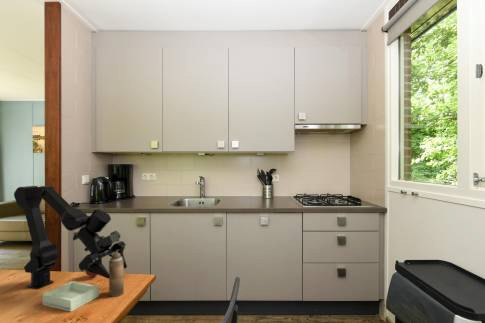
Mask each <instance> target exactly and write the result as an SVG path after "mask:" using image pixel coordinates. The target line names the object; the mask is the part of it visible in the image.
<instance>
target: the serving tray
mask: <svg viewBox="0 0 485 323" xmlns="http://www.w3.org/2000/svg"><path fill="white" fill-rule="evenodd" d="M98 297H100V286H99V285H94V284H90V283H84V282H80V281H79V282H78V281H74V280H73V281H69V282H67V283H65V284H62V285H60V286H58V287H56V288H54V289H51V290H48V291H47V292H44V293H42V306H47V307H51V308H53V309H54V308H55V309H58V310H62V311H67V312H73V311H74V310H76V309H78V308H80V307H82V306H83V305H85V304H87V303H89V302H91V301H92V300H95V299H97V298H98Z"/></svg>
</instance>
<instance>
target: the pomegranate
mask: <svg viewBox="0 0 485 323" xmlns="http://www.w3.org/2000/svg"><path fill="white" fill-rule="evenodd" d="M84 272H85V274H86V276H88V277H90V278H96V277H97V276H99V275H98V274H95V273H91V272H86V270H85V271H84Z"/></svg>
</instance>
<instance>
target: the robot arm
mask: <svg viewBox="0 0 485 323" xmlns="http://www.w3.org/2000/svg"><path fill="white" fill-rule="evenodd" d="M13 197H14V199H15V202H16V205H18V207H20V208H21V209H22V210H23V213H24V216H25V220H26V223H27V227H28V232H29V235H30V239H31V243H32V247H31V250H30V253H29V257H30V258H29V259H30V260H29V261H28V262H27V263H26V264H25V265H24V268H23V269H24V271H25V273H28V274H30V283H29V284H27V285H26V288H31V289H36V290H38V289H41V288H44V287H45V286H48V285H51V284H53V283H55V281H54V280H51V267H54V266H55V265H56V262H57V259H58V258H59V255H58V254H59V251H58V247H57V244H56V243H52V242H51V241H50V240H49V239H48V234H47V230H46V226H45V222H44V219H43V215H42V212H41V207H40V206H41V204H42V201H44V202H45V203H46V204H47V205H48V206H49V207H51V209H53V211H54V212H56V213H57V215H58V216H59V217H60V222H61V224H62V225H63V227H64V228H65V229H66V230H67V231H76V230H78V231H76V232H73V237H72V240H73V241H76V240H79V241H80V242H81V243H82V244H83V245H84V247H85V248H84V249H83V250H84V251H85V252H89V254H87V255H85V256H84V257H83V259H82V260H81V261H80V262H79V263H78V269H79V270H80V271H81V273H82V272H85V273H86V272H91V273H95V274H98V275H97V276H100V277H103V278H105V279H109V278H110V274H109V270H107V269H106V267H105V266H104V264H103V260H102V259H103V258H105V257H107V256H109V257H110V258H112V255H113V254H114V253H116V252H118V253H120V255H121V257H122V259H123V263H124V269H127V268H128V266H127V262H126V260H125V256H124V250H125V249H126V246H127V244H126V243H125V242H124V241H122V240H121V233H119V231H118V230H114V231H112V232H110V234H109V235H107V236H104V235H102V236H101V235H100V234H99V233H100V232H102V231H103V230H104V228H105V227H106V226H107V225H109V223H110V221H111V220H112V219H111V216H110V214H109V213H107V212H105V211H103V210H100V208H97V209H94V210H93V211H92V213H91V214H90V215H88V214H87V213H85V212H84V211H82V210H81V209H79V208H75V207H73V206H72V204H70V203H68V202H67V200H65V199H64V198H63V197H62V195H60V194H59V193H58V192H57V191H56V190H55V187H53V186H51V185H41V186H38V185H27V186H19V187H17V188H16V189H15V191H14V192H13ZM85 270H86V271H85Z"/></svg>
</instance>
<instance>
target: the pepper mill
mask: <svg viewBox="0 0 485 323" xmlns="http://www.w3.org/2000/svg"><path fill="white" fill-rule="evenodd" d="M124 271H125V270H124V263H123V259H122V257H121V255H120V253H118V252H116V253H114V254H113V255H112V257H110V259H109V261H108V273H109V274H110V278H108V288H109V289H108V296H109V297H111V298H116V297H119V296H122V295H123V294H124V293H125V292H124V291H125V290H124V289H125V288H124V287H125V286H124V284H125V283H124V274H125V273H124Z"/></svg>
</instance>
